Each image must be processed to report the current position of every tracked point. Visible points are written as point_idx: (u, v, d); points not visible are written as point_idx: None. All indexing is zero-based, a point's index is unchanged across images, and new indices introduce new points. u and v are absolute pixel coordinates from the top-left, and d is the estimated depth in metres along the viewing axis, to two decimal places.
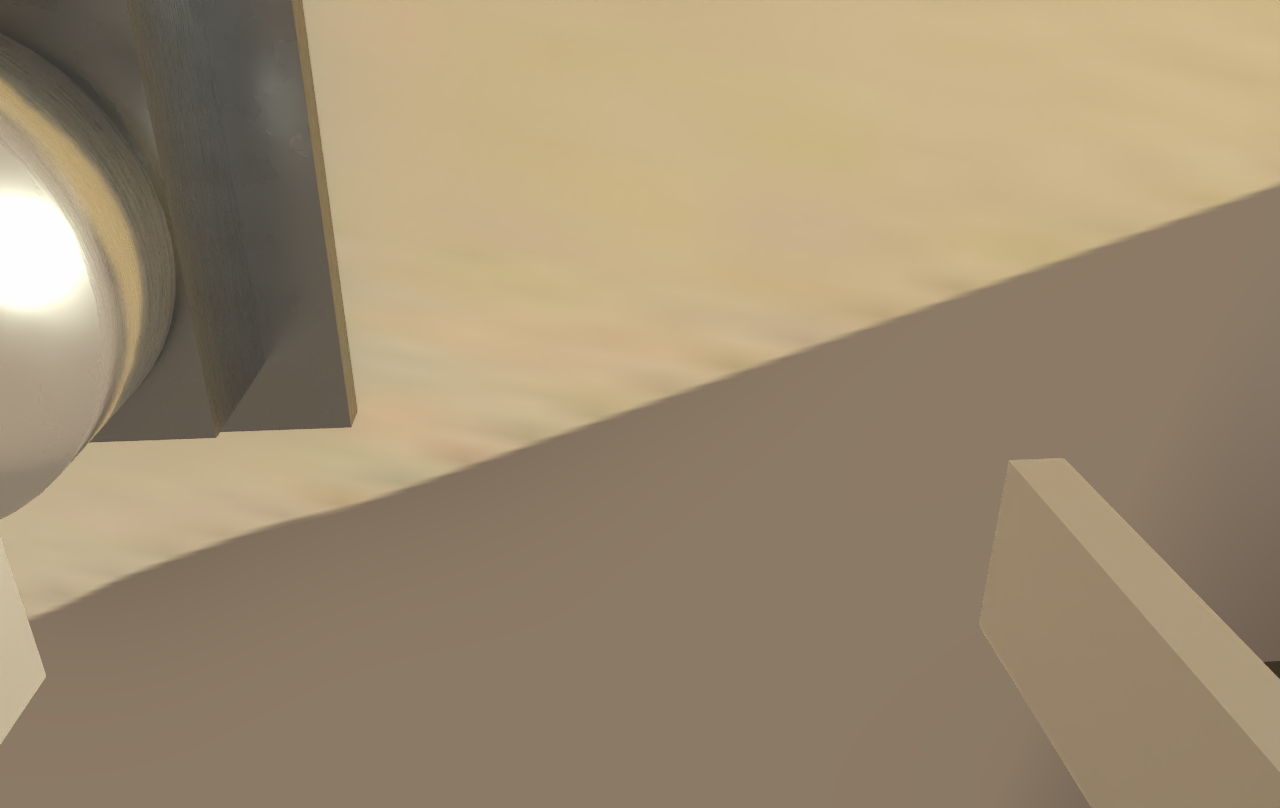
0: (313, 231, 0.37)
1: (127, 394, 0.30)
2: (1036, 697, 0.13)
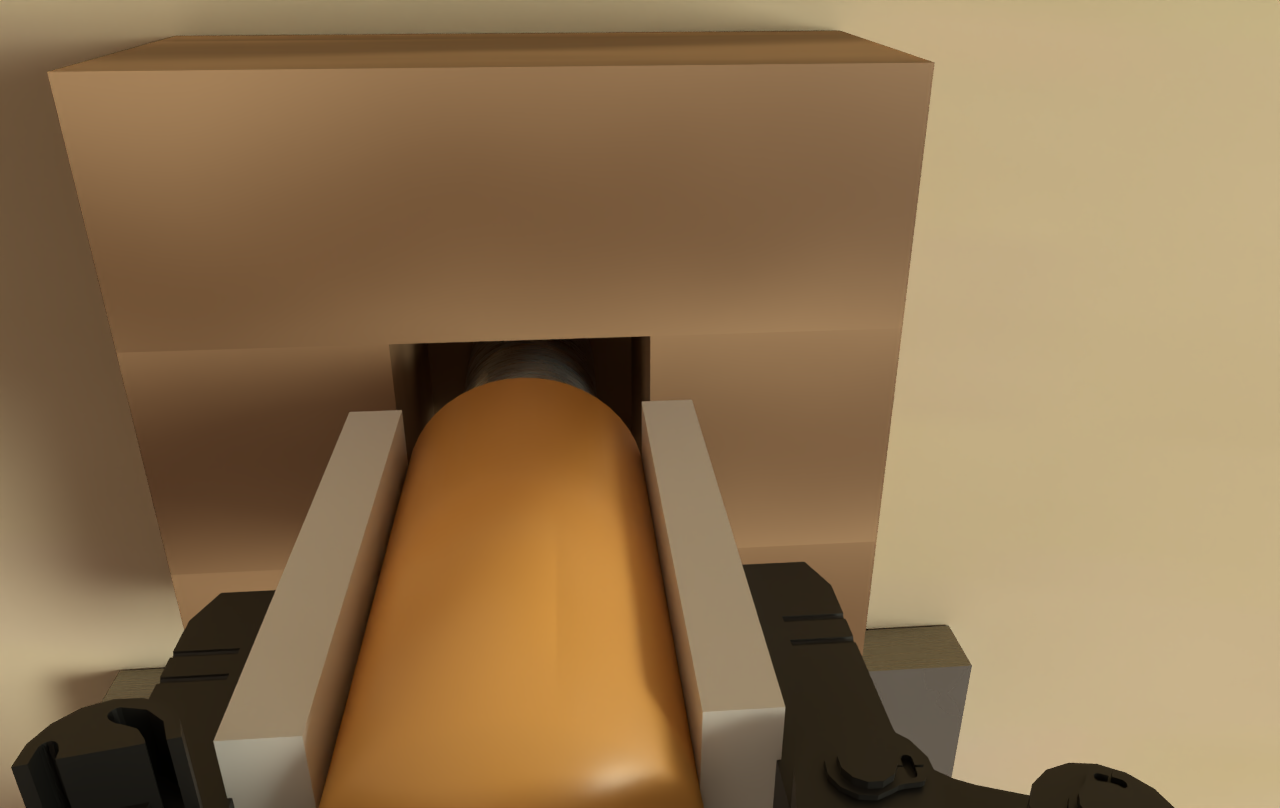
0: None
1: None
2: None
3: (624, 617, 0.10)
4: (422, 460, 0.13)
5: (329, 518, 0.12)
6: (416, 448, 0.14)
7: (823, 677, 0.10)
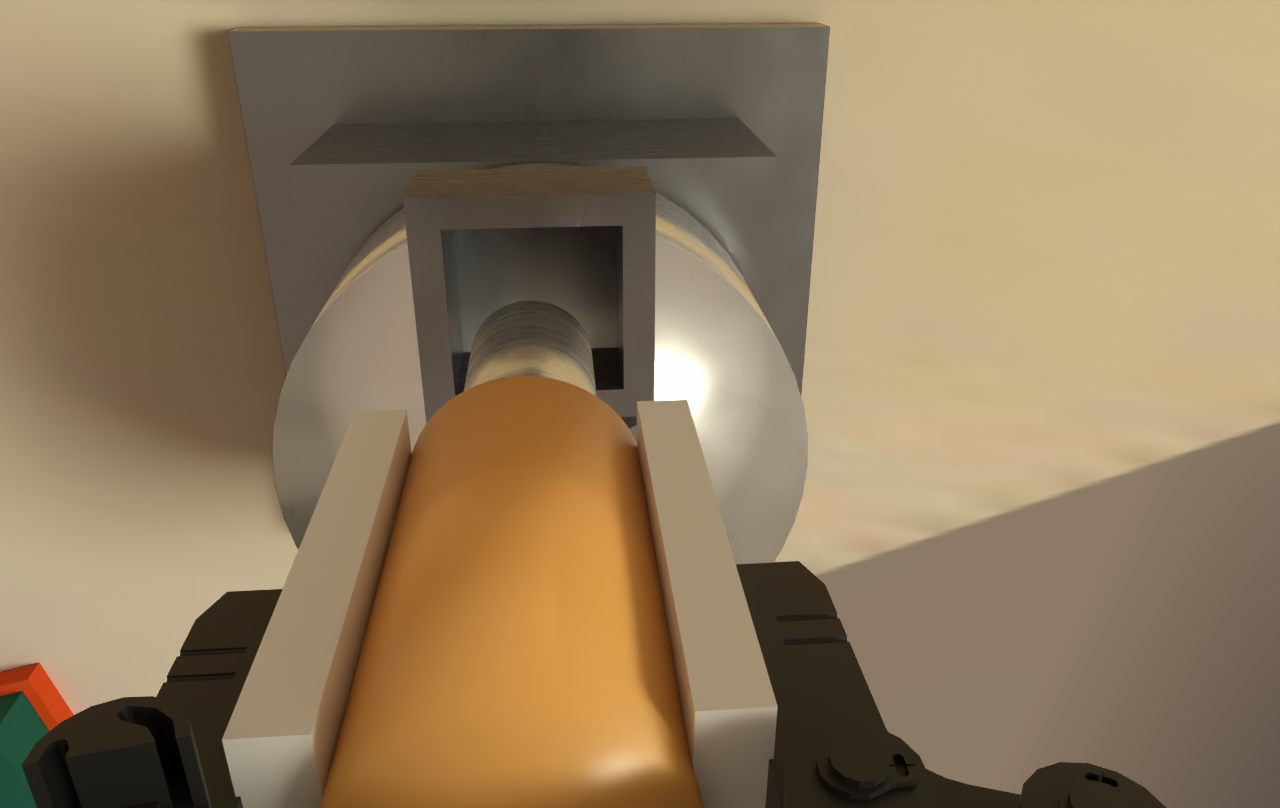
0: (795, 344, 0.39)
1: None
2: None
3: (623, 610, 0.10)
4: (423, 457, 0.13)
5: (336, 517, 0.12)
6: (417, 446, 0.14)
7: (817, 677, 0.10)
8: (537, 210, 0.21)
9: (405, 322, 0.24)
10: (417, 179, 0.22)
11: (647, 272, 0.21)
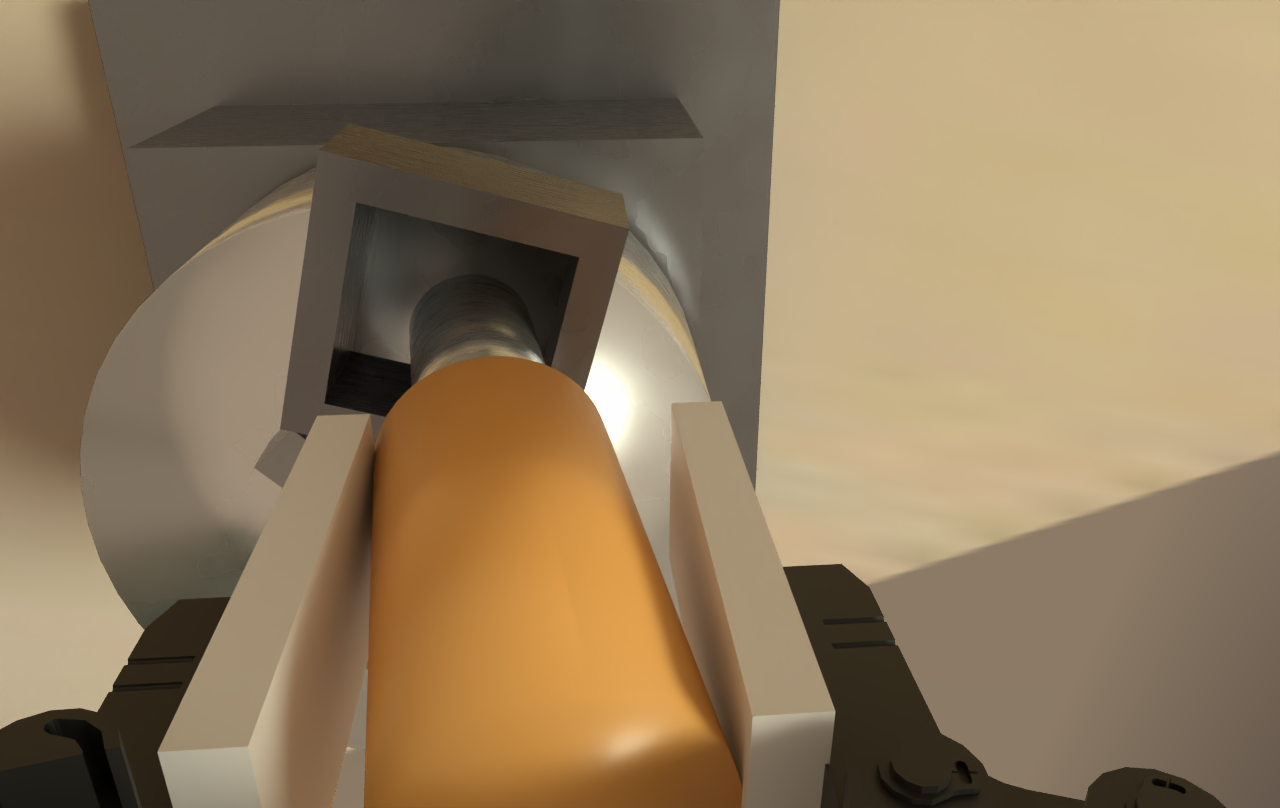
0: (750, 356, 0.34)
1: None
2: (682, 611, 0.14)
3: (629, 584, 0.10)
4: (393, 452, 0.13)
5: (290, 524, 0.12)
6: (382, 439, 0.14)
7: (867, 681, 0.10)
8: (481, 210, 0.17)
9: (290, 298, 0.20)
10: (346, 134, 0.17)
11: (594, 320, 0.18)
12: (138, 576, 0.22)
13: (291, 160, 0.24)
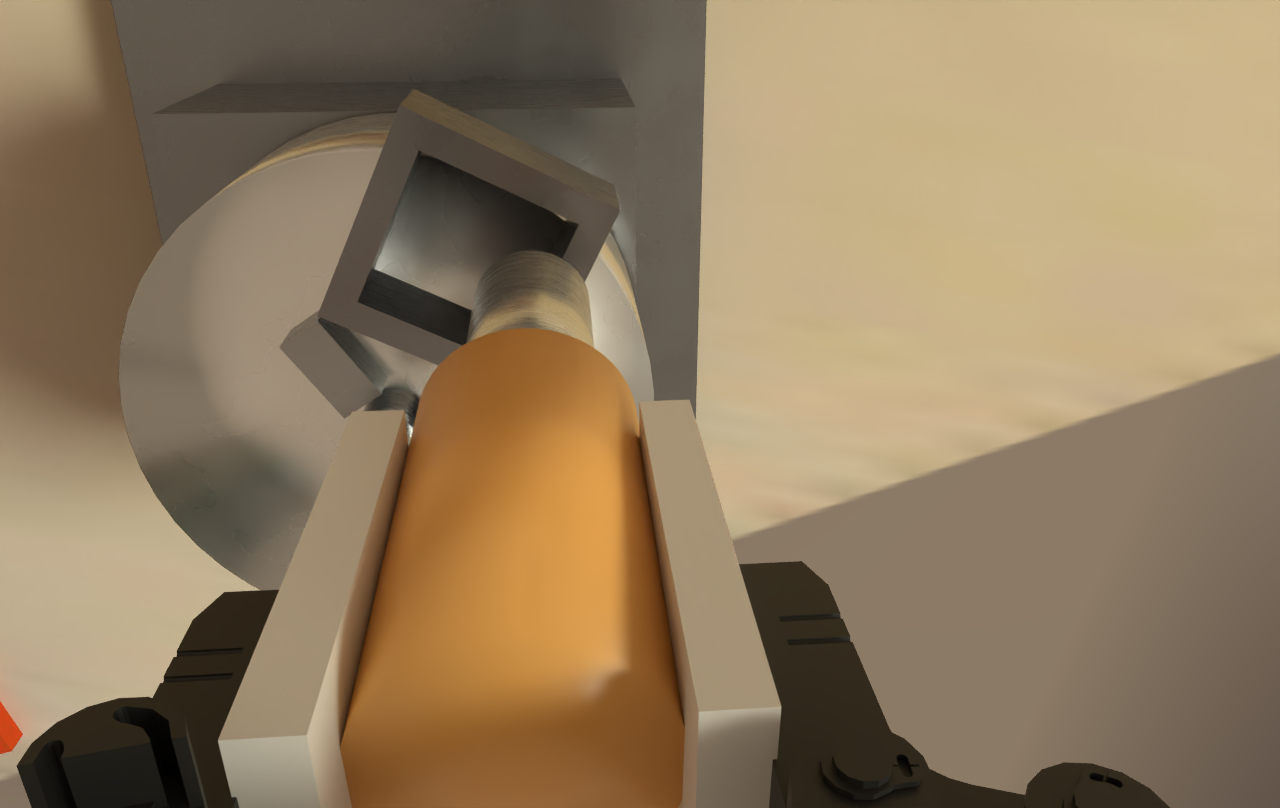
0: (688, 307, 0.39)
1: None
2: None
3: (612, 548, 0.11)
4: (428, 408, 0.14)
5: (332, 517, 0.12)
6: (423, 396, 0.15)
7: (820, 676, 0.10)
8: (512, 175, 0.22)
9: (334, 216, 0.24)
10: (413, 96, 0.22)
11: (580, 274, 0.23)
12: (150, 426, 0.26)
13: (289, 125, 0.29)
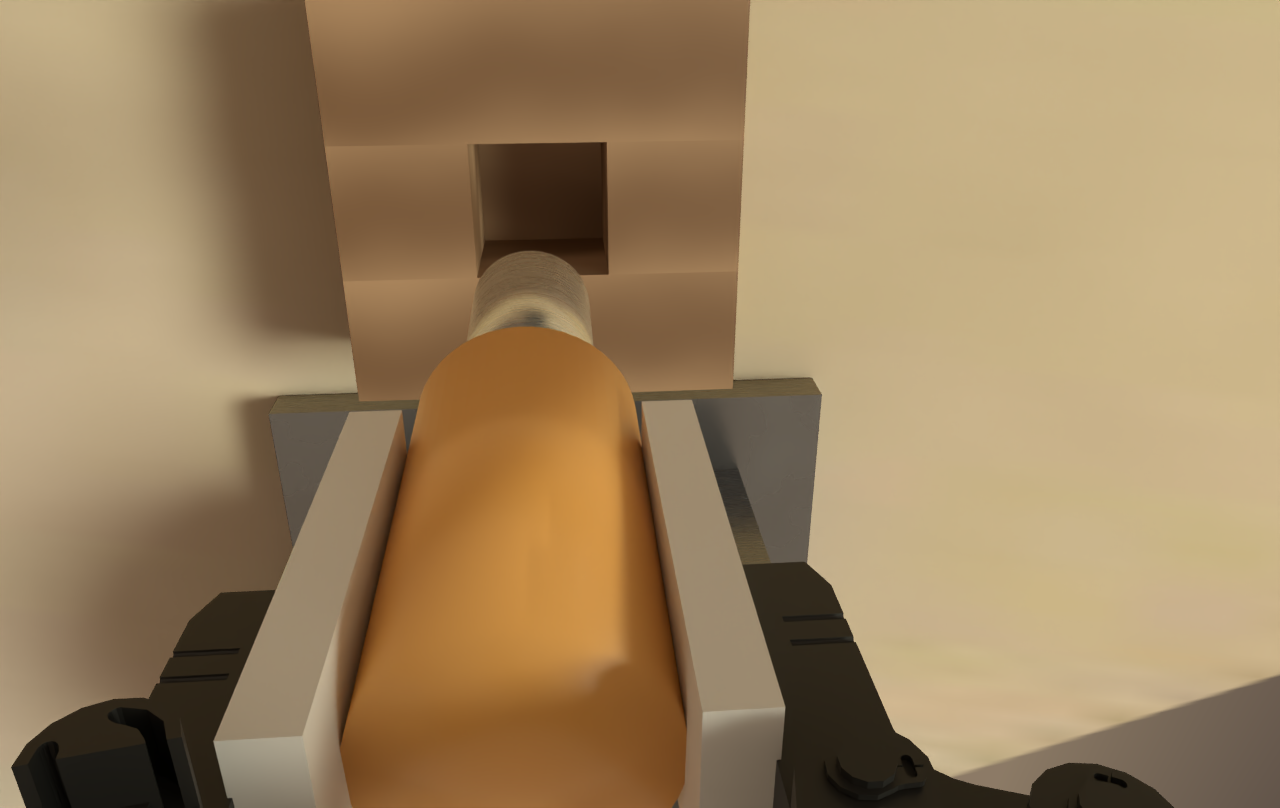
0: None
1: None
2: None
3: (611, 543, 0.11)
4: (429, 406, 0.14)
5: (329, 518, 0.12)
6: (423, 394, 0.15)
7: (823, 677, 0.10)
8: None
9: None
10: None
11: None
12: None
13: None
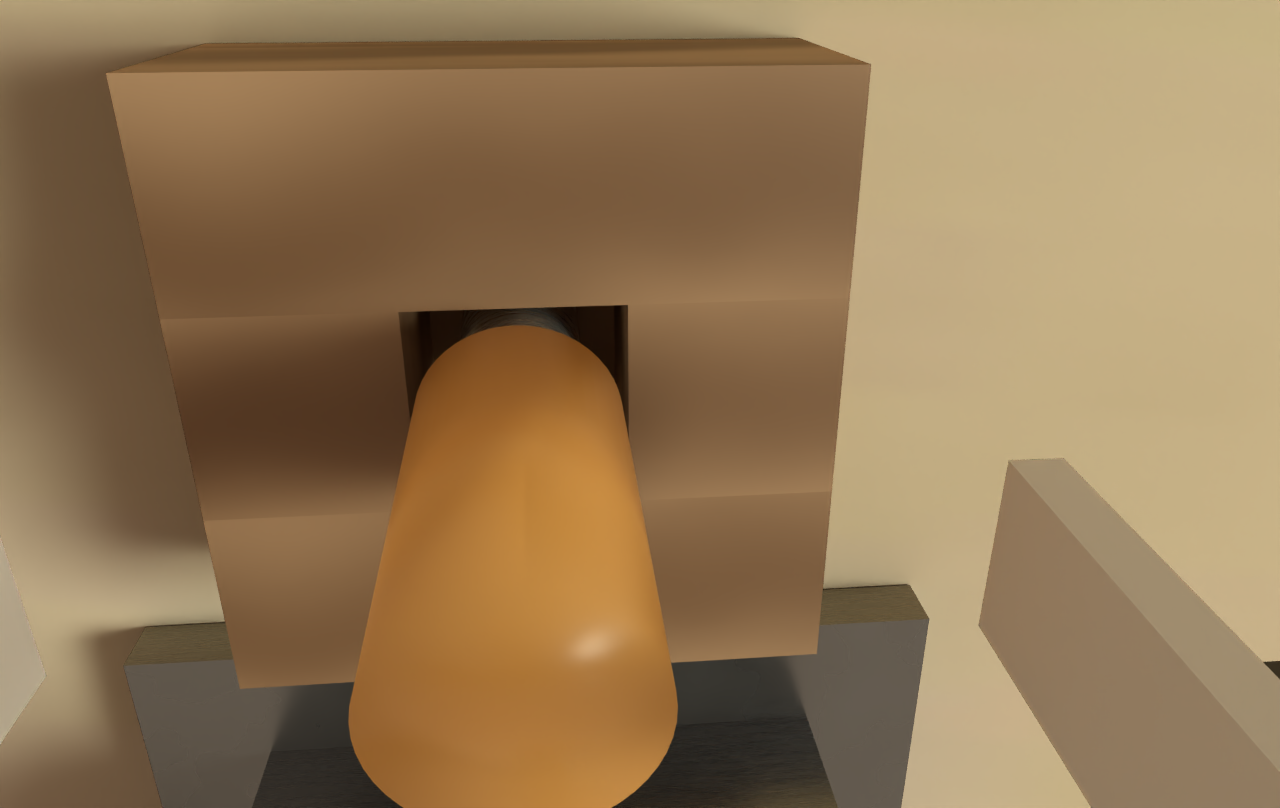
0: None
1: None
2: (1036, 697, 0.13)
3: (601, 515, 0.12)
4: (426, 399, 0.15)
5: None
6: (420, 391, 0.16)
7: None
8: None
9: None
10: None
11: None
12: None
13: None
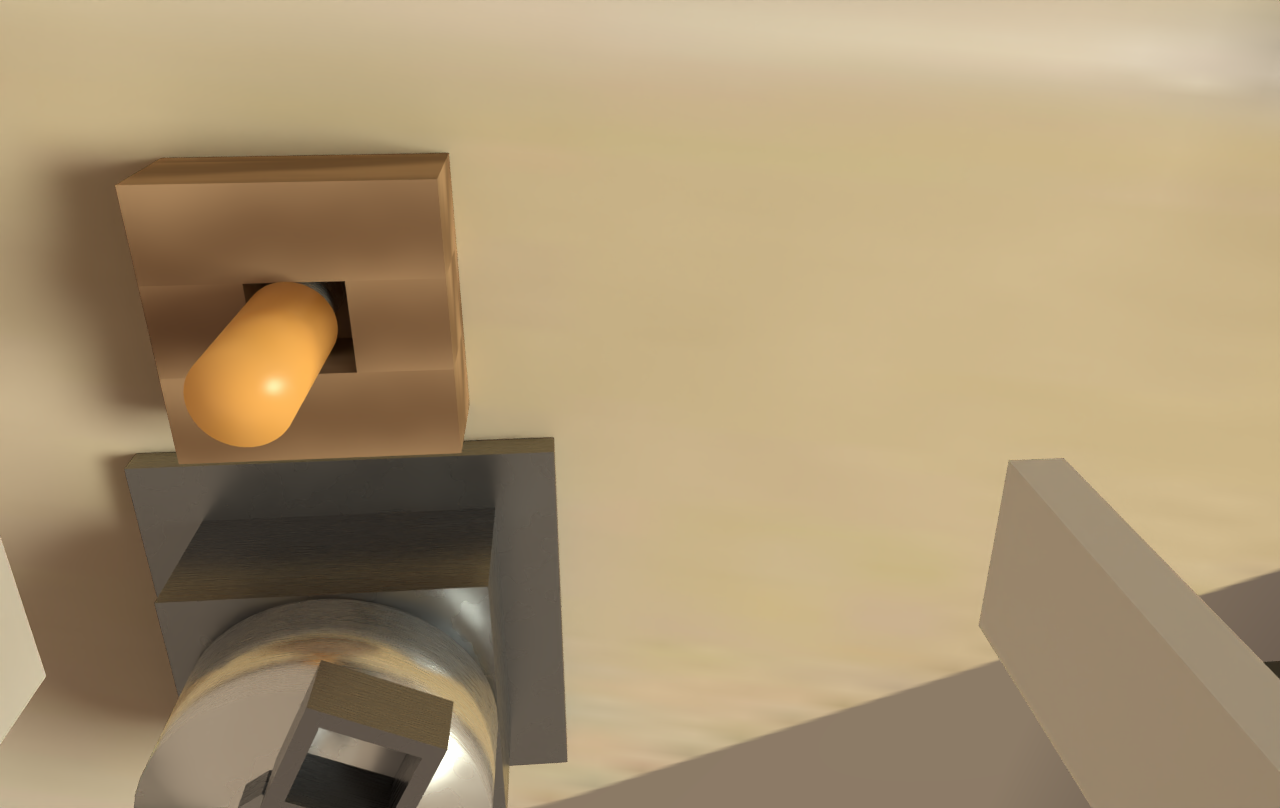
0: (555, 646, 0.53)
1: None
2: (1036, 697, 0.13)
3: (281, 337, 0.34)
4: None
5: None
6: None
7: None
8: (378, 736, 0.35)
9: (272, 725, 0.38)
10: (318, 678, 0.36)
11: (425, 782, 0.36)
12: None
13: (249, 605, 0.42)
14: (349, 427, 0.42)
